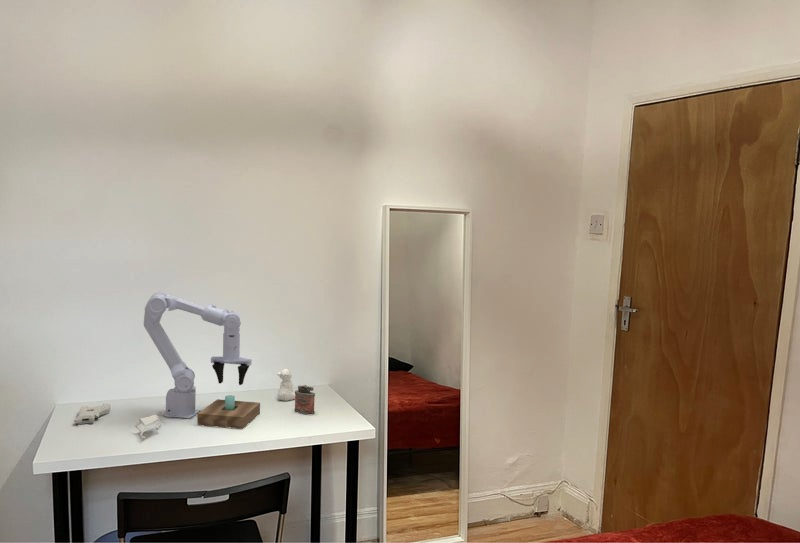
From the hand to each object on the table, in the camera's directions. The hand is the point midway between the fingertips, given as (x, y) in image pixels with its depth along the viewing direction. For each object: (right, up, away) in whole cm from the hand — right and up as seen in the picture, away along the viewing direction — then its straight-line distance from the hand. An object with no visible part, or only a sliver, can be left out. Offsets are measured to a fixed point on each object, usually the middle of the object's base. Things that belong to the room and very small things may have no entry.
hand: (230, 383), depth 215 cm
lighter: (+26, -11, +4) cm, 28 cm away
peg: (+1, -11, -7) cm, 13 cm away
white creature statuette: (+17, -10, +19) cm, 27 cm away
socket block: (+1, -11, -7) cm, 13 cm away
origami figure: (-20, -12, -24) cm, 33 cm away
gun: (-45, -10, -9) cm, 47 cm away
